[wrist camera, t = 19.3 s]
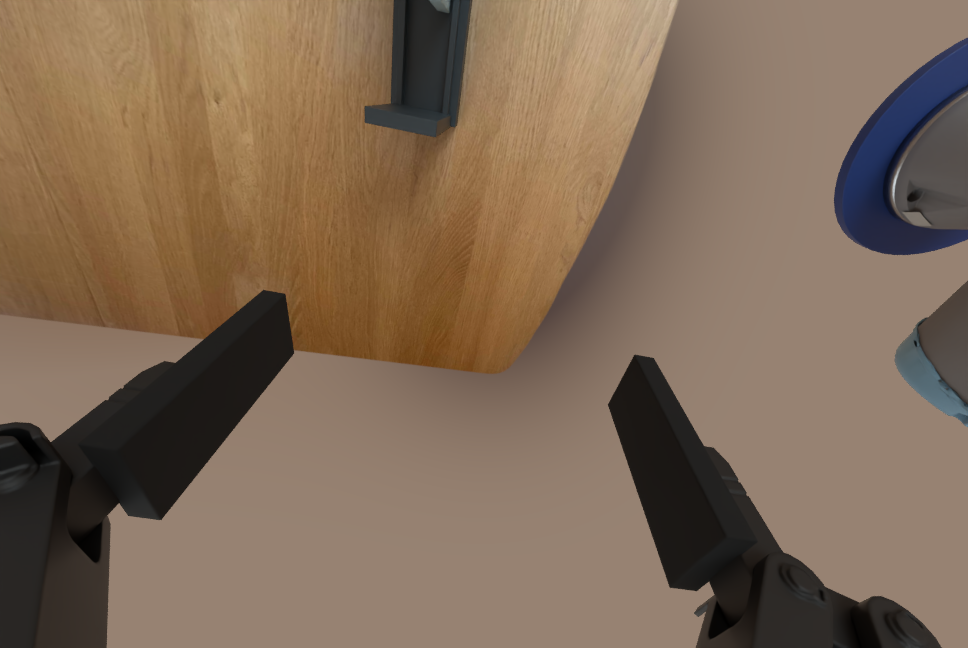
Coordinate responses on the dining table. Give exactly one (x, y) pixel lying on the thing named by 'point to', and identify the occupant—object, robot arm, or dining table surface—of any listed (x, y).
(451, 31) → the window frame
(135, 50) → the dining table surface
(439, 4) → the pane
